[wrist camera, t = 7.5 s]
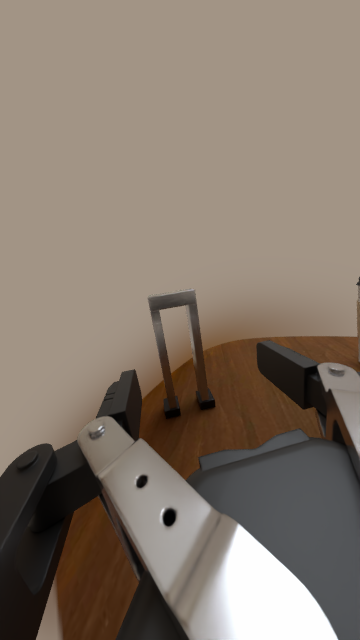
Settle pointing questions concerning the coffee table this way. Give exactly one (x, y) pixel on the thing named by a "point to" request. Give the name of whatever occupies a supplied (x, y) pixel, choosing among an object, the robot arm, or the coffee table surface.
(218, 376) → the coffee table surface
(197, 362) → the tongs
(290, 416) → the coffee table surface
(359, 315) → the coffee cup
